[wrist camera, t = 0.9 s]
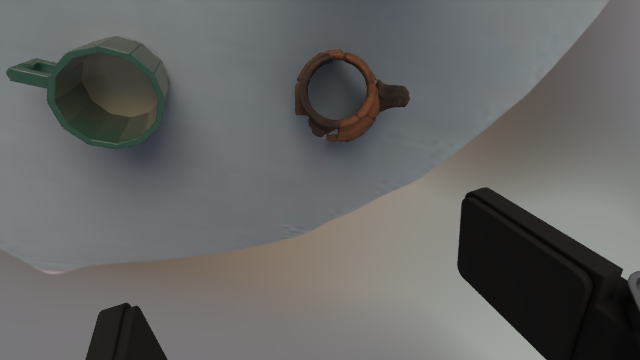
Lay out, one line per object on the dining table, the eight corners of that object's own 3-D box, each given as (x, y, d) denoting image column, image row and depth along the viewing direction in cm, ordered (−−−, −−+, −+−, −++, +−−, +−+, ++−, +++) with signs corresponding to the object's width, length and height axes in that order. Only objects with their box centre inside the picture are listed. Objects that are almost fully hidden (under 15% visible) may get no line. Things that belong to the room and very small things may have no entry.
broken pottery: (304, 150, 42) (299, 146, 34) (291, 70, 41) (283, 46, 33) (405, 134, 42) (425, 126, 33) (393, 53, 41) (410, 25, 33)
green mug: (174, 51, 33) (170, 64, 26) (162, 126, 35) (156, 156, 28) (40, 13, 28) (-6, 17, 22) (37, 101, 31) (-5, 129, 24)
